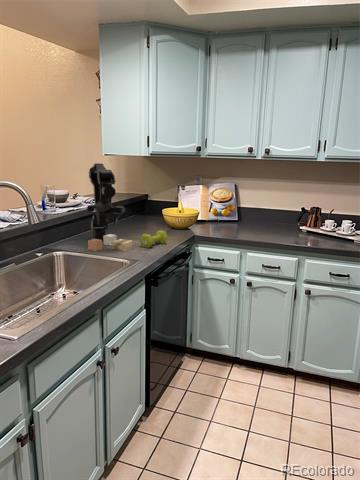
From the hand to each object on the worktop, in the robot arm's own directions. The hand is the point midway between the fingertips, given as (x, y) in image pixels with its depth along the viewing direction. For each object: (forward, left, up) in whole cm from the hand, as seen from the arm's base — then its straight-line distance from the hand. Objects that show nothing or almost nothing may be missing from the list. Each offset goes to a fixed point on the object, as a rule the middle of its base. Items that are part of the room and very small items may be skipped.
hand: (106, 225), depth 199 cm
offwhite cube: (-5, +8, -13) cm, 16 cm away
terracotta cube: (-4, -5, -13) cm, 14 cm away
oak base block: (+6, +5, -13) cm, 15 cm away
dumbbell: (+16, +20, -13) cm, 29 cm away
